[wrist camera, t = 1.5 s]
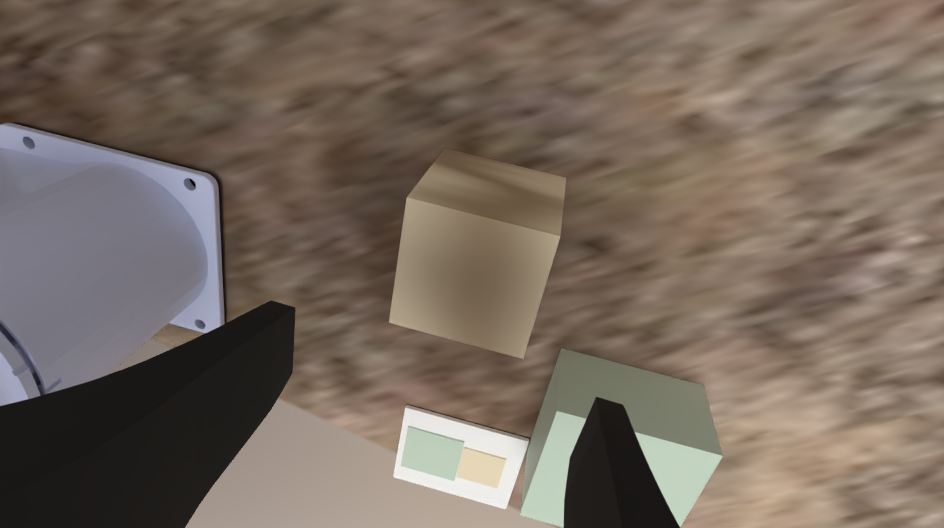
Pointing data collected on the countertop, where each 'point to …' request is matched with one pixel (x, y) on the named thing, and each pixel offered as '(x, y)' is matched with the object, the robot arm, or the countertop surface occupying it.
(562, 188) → the maple block
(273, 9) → the countertop surface
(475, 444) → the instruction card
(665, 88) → the countertop surface
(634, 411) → the sage base block
